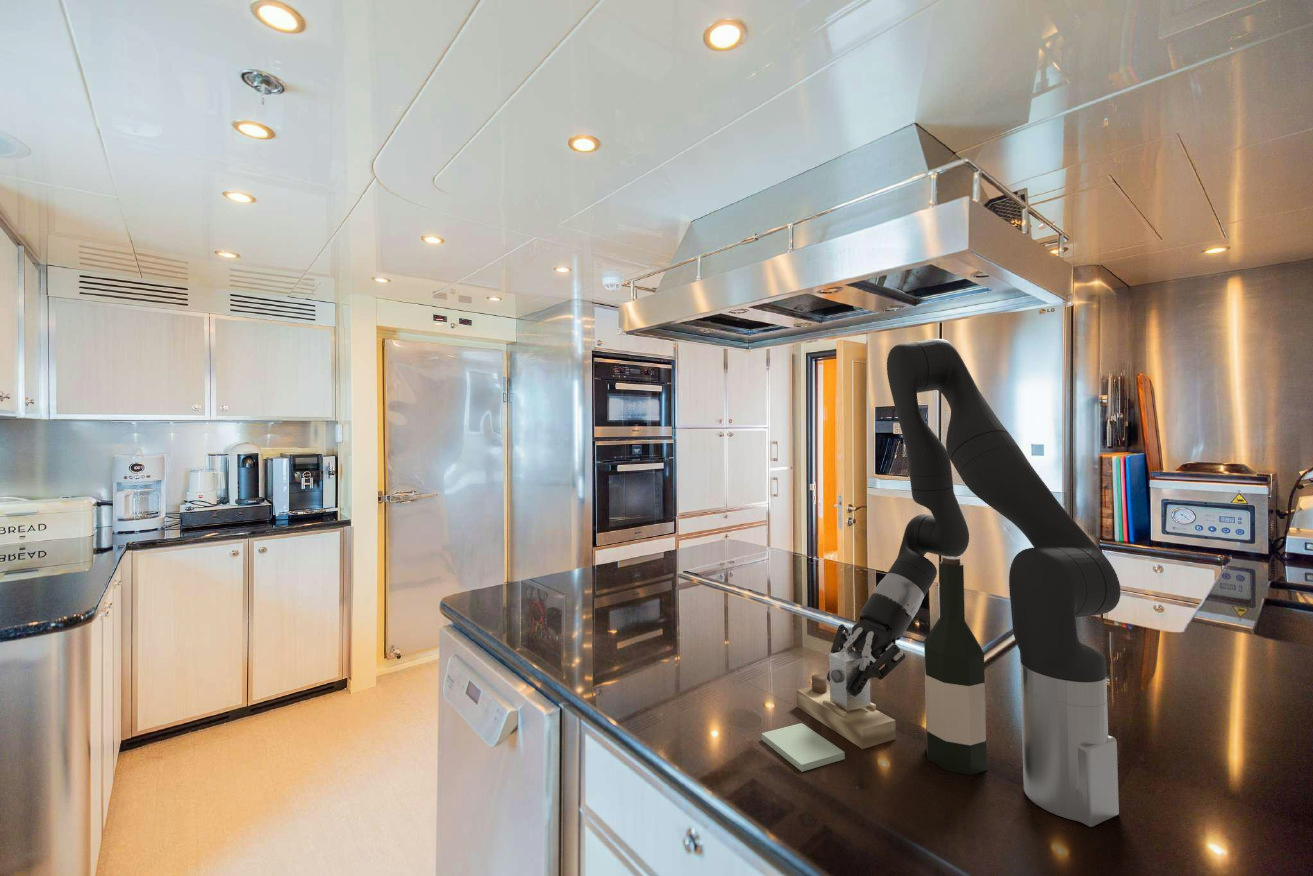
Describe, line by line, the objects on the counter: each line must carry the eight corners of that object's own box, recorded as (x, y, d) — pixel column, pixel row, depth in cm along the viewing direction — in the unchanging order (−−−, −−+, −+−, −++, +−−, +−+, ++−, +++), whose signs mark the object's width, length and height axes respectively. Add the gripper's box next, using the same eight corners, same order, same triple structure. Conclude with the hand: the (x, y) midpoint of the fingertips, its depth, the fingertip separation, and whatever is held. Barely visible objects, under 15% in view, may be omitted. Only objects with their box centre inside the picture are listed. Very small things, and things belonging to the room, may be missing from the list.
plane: (895, 739, 89) (895, 705, 89) (862, 749, 86) (861, 713, 87) (827, 699, 104) (826, 670, 104) (796, 706, 101) (796, 676, 101)
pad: (844, 758, 84) (844, 752, 84) (801, 771, 80) (801, 764, 80) (801, 729, 93) (801, 723, 93) (761, 739, 89) (761, 733, 90)
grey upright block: (870, 705, 93) (869, 656, 93) (844, 712, 91) (843, 662, 91) (852, 696, 97) (851, 649, 97) (827, 702, 94) (826, 654, 95)
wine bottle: (916, 759, 83) (911, 558, 84) (936, 738, 89) (932, 551, 90) (978, 782, 77) (972, 565, 78) (995, 758, 83) (990, 557, 84)
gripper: (851, 584, 104) (799, 660, 99) (914, 601, 91) (859, 690, 86) (873, 609, 106) (824, 685, 100) (938, 630, 93) (886, 718, 87)
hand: (840, 687), depth 93 cm, fingers closed on grey upright block, 4 cm apart
